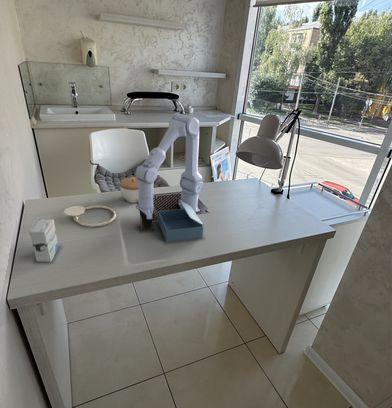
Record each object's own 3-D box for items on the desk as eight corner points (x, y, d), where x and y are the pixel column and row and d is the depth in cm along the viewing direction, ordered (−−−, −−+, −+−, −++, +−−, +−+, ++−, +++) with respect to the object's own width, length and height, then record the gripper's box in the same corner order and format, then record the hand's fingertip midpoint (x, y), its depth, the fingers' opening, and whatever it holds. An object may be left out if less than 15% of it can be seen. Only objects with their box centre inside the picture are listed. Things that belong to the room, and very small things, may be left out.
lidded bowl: (151, 197, 146) (151, 176, 140) (139, 207, 135) (138, 185, 130) (129, 191, 149) (128, 171, 143) (115, 201, 138) (113, 180, 133)
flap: (178, 199, 123) (178, 198, 123) (190, 207, 127) (191, 206, 127) (189, 217, 111) (190, 217, 111) (203, 225, 115) (203, 225, 115)
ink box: (44, 246, 105) (38, 218, 99) (59, 247, 105) (54, 218, 99) (35, 261, 97) (28, 232, 91) (51, 262, 98) (44, 232, 92)
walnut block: (139, 226, 122) (139, 212, 118) (150, 224, 123) (150, 211, 120) (141, 231, 118) (141, 217, 115) (152, 230, 120) (152, 216, 116)
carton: (157, 222, 126) (157, 211, 123) (190, 218, 130) (191, 208, 128) (166, 242, 113) (166, 230, 110) (202, 238, 118) (203, 226, 115)
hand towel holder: (120, 214, 120) (66, 222, 111) (120, 223, 122) (67, 232, 114) (110, 196, 133) (61, 202, 124) (111, 205, 135) (63, 211, 126)
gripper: (132, 188, 118) (133, 217, 125) (138, 205, 106) (139, 236, 113) (150, 187, 120) (150, 216, 127) (157, 203, 108) (157, 234, 115)
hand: (146, 225), depth 120 cm, fingers closed on walnut block, 4 cm apart
